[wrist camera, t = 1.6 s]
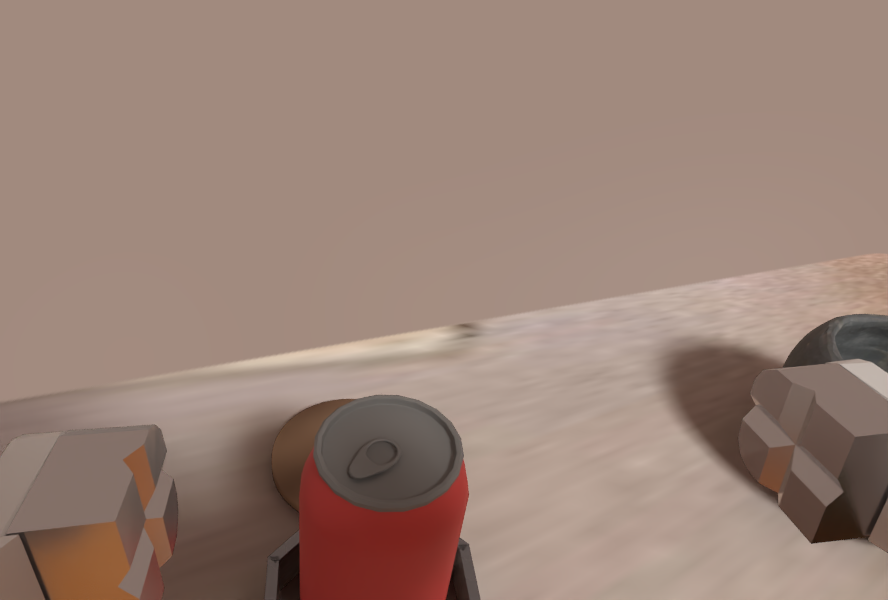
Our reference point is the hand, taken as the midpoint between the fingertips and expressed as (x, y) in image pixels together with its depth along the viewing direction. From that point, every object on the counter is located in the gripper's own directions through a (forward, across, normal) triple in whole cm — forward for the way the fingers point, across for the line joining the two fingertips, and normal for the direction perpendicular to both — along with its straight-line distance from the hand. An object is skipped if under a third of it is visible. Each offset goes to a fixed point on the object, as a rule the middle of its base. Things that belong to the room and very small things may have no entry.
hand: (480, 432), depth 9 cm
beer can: (+13, +1, +22) cm, 26 cm away
